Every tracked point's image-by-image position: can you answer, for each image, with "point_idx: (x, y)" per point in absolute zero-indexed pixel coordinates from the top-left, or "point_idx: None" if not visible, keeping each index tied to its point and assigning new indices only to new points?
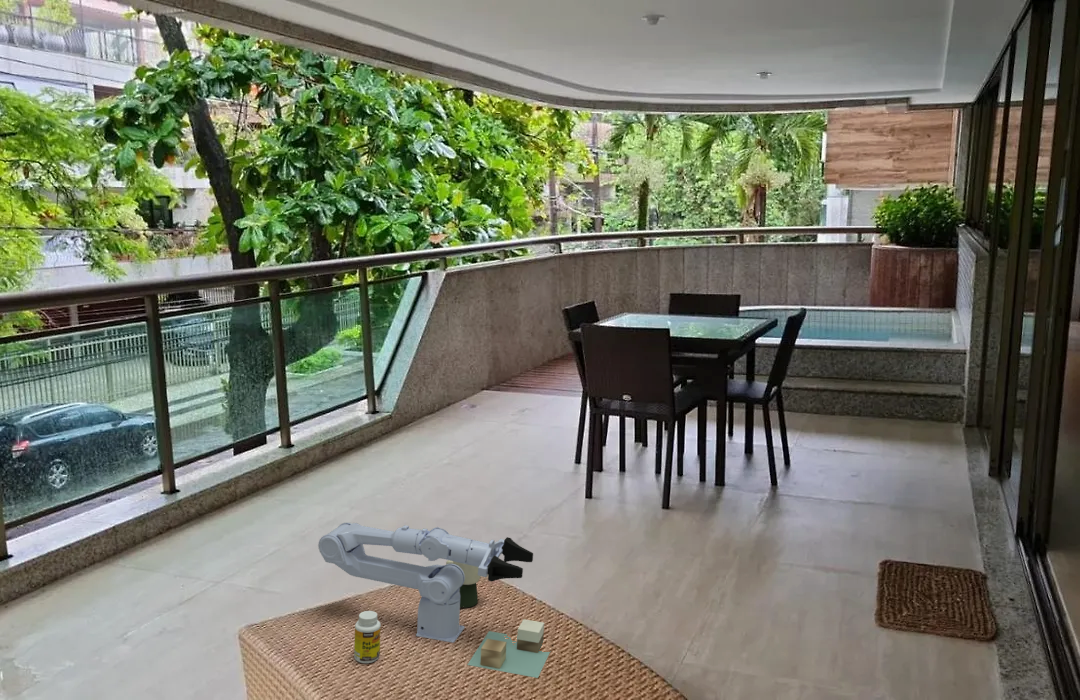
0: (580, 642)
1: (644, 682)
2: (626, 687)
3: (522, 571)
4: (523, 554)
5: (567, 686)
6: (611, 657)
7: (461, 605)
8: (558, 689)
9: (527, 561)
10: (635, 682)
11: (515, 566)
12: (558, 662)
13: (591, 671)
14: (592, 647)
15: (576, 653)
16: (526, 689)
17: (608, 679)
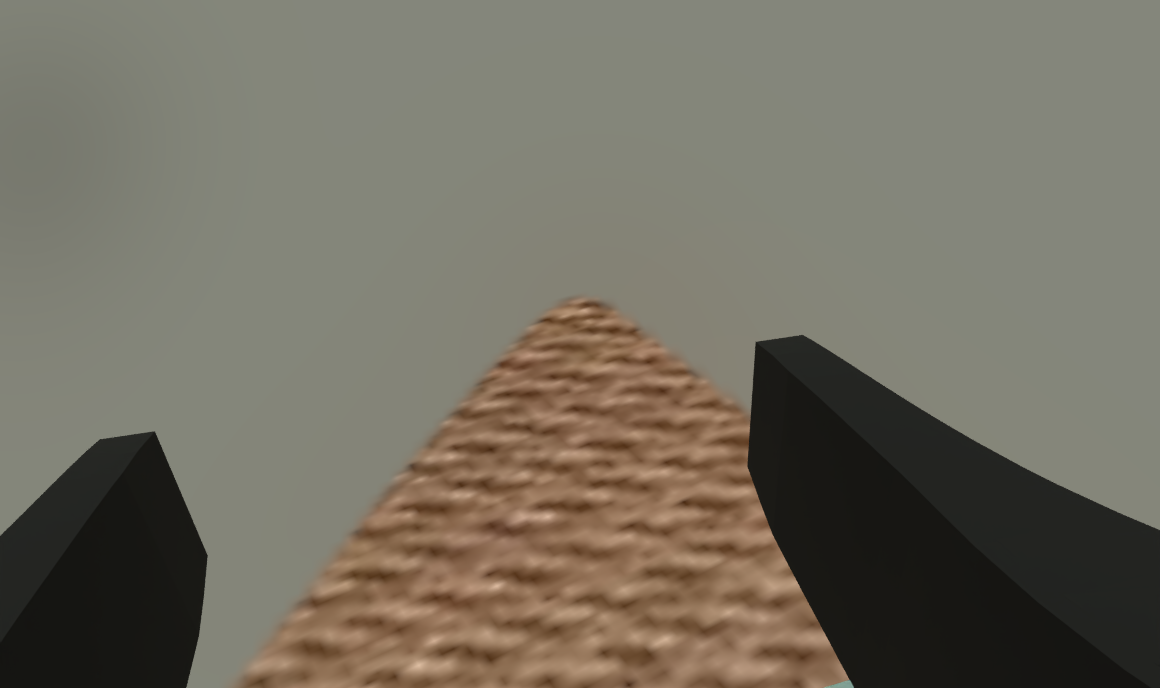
0: (343, 682)
1: (569, 342)
2: (647, 365)
3: (762, 384)
4: (109, 626)
5: None
6: (437, 495)
7: None
8: None
9: (190, 629)
10: (589, 359)
11: (856, 386)
12: (640, 671)
13: (617, 504)
14: (376, 603)
15: (483, 640)
16: None
17: (635, 429)
